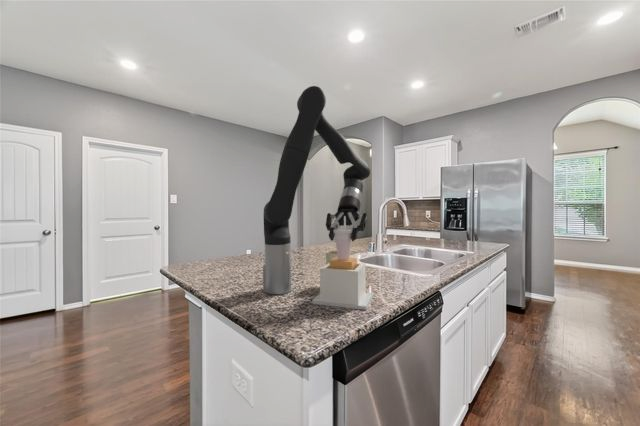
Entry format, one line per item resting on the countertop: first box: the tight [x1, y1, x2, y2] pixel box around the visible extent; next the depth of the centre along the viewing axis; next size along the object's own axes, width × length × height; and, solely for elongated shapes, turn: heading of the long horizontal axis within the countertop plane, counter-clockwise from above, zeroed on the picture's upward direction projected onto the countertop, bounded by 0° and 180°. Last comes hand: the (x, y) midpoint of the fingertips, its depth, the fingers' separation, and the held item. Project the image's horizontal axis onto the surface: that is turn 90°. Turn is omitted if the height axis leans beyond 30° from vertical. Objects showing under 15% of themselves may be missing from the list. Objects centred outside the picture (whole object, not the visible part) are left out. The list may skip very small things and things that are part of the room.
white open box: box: [311, 262, 374, 311], centre depth 89 cm, size 17×13×11 cm
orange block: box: [329, 257, 358, 270], centre depth 89 cm, size 7×7×8 cm
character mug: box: [325, 250, 338, 265], centre depth 104 cm, size 11×7×13 cm, turn 13°
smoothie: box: [333, 216, 353, 260], centre depth 88 cm, size 6×6×14 cm
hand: (342, 239), depth 87 cm, fingers closed on smoothie, 6 cm apart
